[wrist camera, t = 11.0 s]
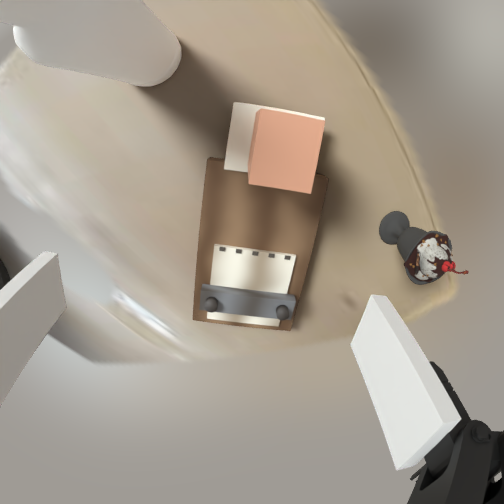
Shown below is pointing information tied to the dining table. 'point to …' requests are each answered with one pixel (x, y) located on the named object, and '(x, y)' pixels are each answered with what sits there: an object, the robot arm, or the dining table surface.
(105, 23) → the bottle
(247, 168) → the stub
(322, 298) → the dining table surface
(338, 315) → the dining table surface
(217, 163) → the board
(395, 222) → the sundae
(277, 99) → the dining table surface
